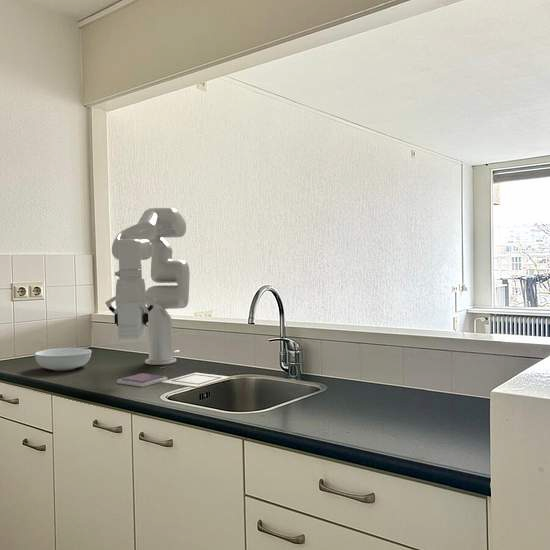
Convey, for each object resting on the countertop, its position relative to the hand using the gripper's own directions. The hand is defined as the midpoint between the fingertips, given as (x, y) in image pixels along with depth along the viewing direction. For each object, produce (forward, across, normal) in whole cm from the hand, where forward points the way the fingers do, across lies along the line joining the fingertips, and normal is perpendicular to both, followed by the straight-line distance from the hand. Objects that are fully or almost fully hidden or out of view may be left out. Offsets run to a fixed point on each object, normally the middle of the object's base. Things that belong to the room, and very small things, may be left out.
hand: (131, 324), depth 197 cm
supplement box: (+5, 0, 0) cm, 5 cm away
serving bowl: (+20, -28, +33) cm, 48 cm away
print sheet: (+20, +22, -3) cm, 29 cm away
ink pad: (+20, +3, -1) cm, 20 cm away
